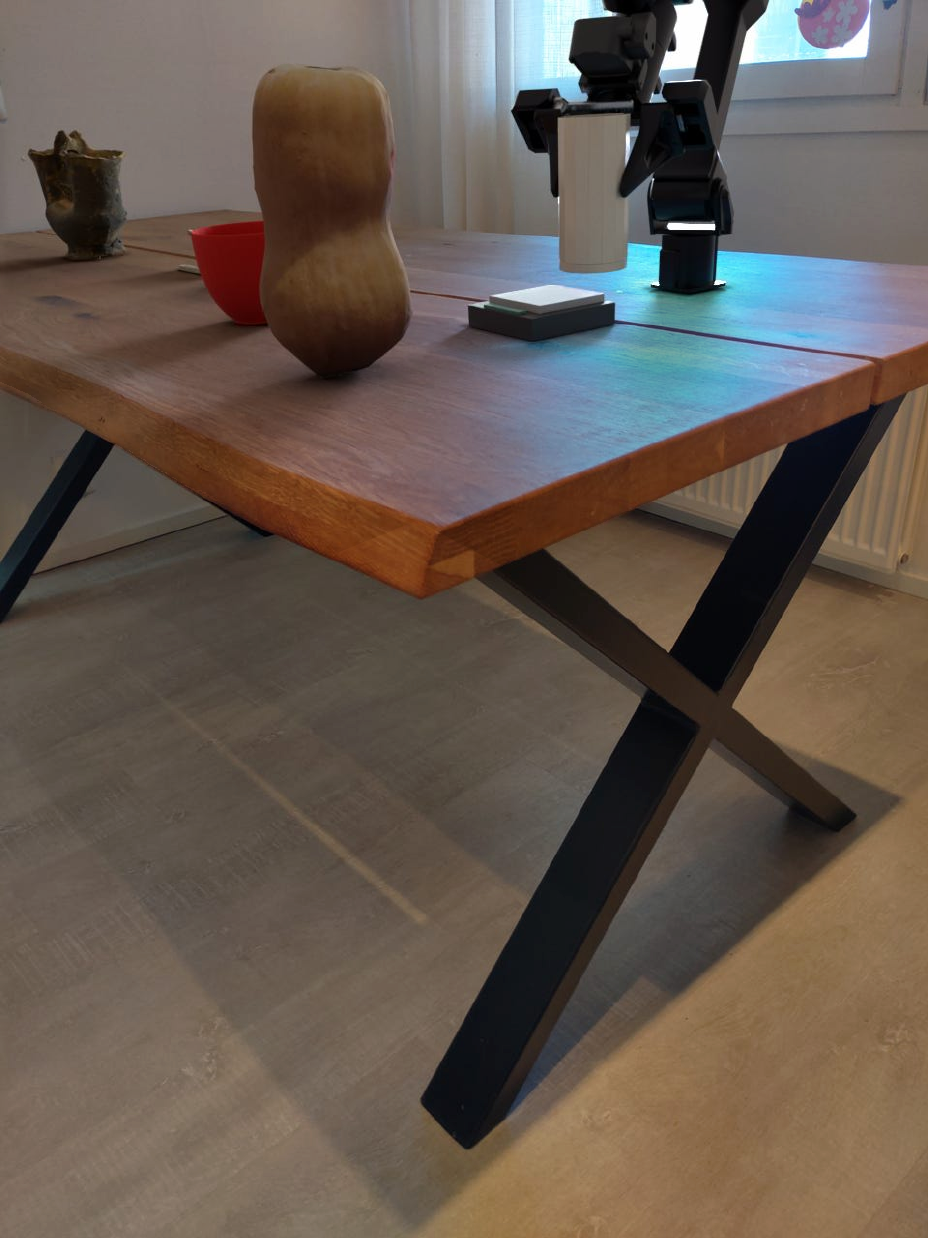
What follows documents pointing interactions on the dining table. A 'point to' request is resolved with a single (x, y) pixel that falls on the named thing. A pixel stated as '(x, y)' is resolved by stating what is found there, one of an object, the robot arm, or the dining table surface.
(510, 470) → the dining table surface
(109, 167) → the pottery vessel
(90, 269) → the dining table surface
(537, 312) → the scale
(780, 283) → the dining table surface
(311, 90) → the butternut squash
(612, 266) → the tumbler
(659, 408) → the dining table surface
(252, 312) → the ceramic cup
